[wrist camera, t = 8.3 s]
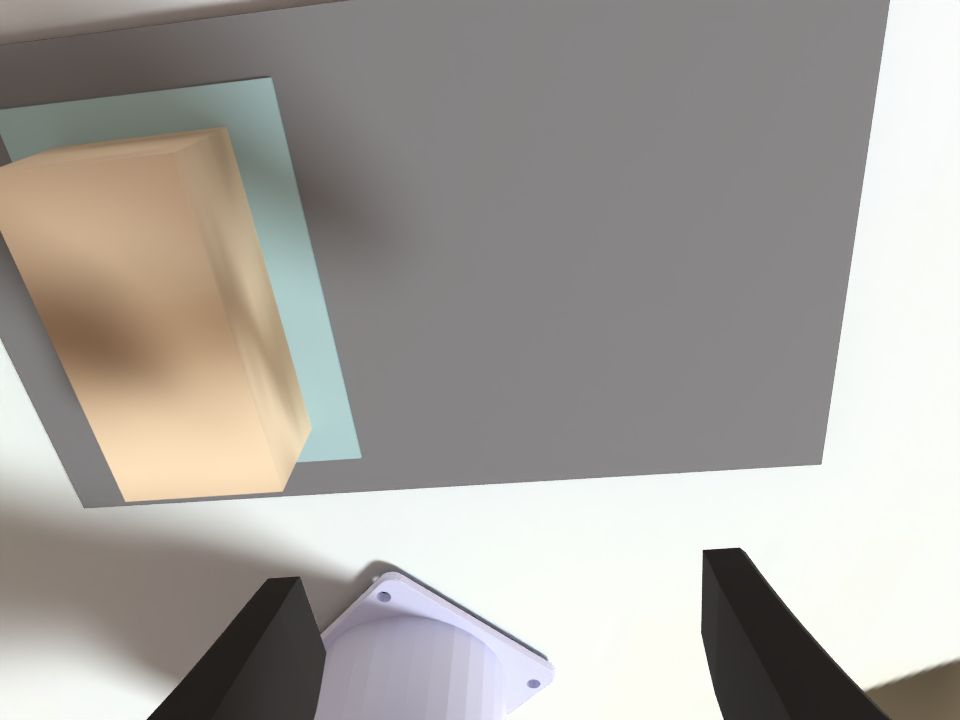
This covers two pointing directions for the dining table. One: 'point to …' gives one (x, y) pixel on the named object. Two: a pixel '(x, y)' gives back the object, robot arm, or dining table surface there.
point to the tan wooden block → (160, 310)
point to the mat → (503, 224)
